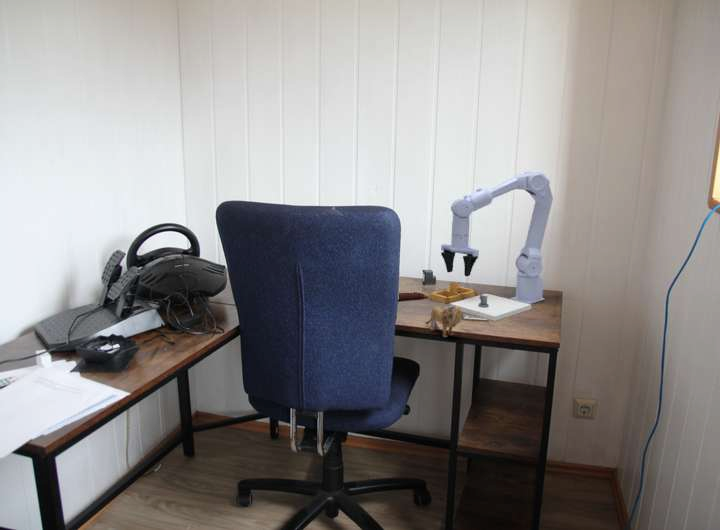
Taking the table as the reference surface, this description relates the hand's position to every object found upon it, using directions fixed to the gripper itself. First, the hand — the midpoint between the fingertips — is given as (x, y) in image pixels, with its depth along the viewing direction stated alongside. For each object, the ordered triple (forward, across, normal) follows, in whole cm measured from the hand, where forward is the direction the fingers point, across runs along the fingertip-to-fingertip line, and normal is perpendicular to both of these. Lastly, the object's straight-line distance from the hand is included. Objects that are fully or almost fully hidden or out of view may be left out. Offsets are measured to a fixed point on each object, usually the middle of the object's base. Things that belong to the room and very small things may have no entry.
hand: (458, 273), depth 184 cm
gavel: (+10, -13, -14) cm, 22 cm away
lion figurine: (+10, +18, -29) cm, 36 cm away
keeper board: (+10, +13, +1) cm, 16 cm away
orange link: (+10, -4, +2) cm, 10 cm away
